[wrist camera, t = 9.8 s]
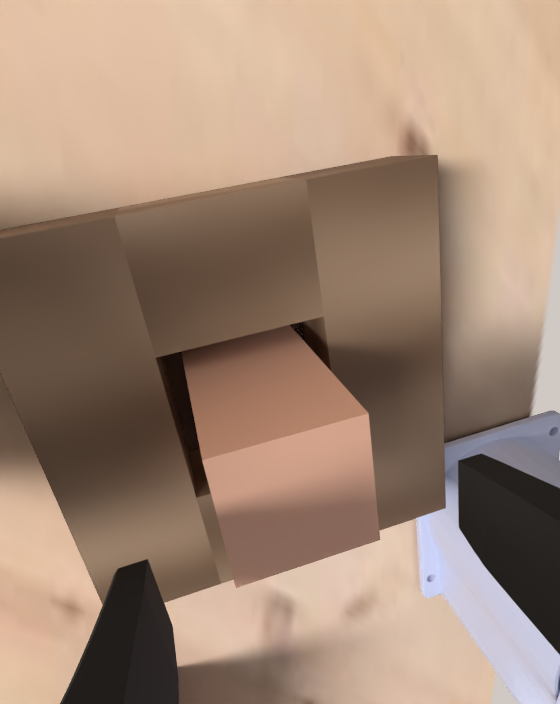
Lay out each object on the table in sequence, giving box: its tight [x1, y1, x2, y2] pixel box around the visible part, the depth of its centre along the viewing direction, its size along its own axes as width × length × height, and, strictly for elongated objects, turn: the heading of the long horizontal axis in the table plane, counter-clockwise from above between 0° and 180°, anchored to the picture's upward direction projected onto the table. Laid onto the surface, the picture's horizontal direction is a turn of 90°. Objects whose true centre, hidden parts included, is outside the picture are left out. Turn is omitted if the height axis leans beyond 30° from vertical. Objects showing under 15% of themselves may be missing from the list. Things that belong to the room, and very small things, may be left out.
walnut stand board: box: [0, 155, 446, 604], centre depth 18 cm, size 14×14×3 cm
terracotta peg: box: [181, 325, 380, 588], centre depth 15 cm, size 4×4×8 cm
